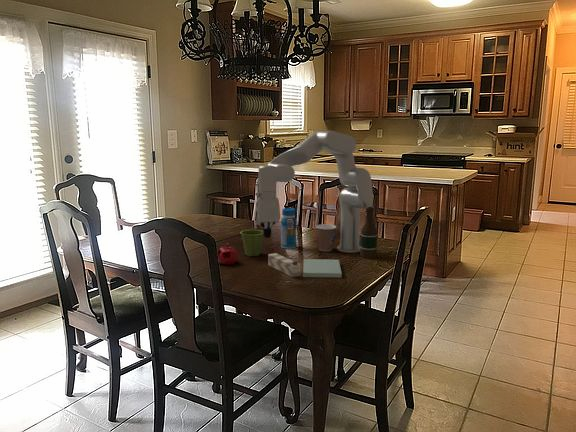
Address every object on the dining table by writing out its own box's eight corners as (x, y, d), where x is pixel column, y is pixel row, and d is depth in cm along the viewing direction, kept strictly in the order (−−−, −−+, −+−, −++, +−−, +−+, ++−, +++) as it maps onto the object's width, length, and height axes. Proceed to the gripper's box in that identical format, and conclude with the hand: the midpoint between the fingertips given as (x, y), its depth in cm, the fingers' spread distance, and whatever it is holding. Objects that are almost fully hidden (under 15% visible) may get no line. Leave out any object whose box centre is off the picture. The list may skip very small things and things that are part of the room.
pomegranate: (227, 258, 225) (227, 239, 223) (243, 262, 219) (242, 242, 217) (212, 263, 217) (211, 243, 216) (227, 267, 211) (226, 247, 209)
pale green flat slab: (303, 262, 218) (303, 259, 217) (338, 263, 217) (338, 259, 217) (303, 276, 198) (303, 272, 198) (341, 277, 197) (341, 273, 197)
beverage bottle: (277, 247, 244) (277, 209, 240) (285, 244, 251) (285, 207, 247) (292, 249, 240) (292, 211, 236) (299, 246, 247) (299, 208, 243)
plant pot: (268, 252, 235) (267, 230, 233) (260, 258, 224) (260, 235, 222) (245, 250, 239) (245, 228, 236) (236, 256, 227) (236, 234, 225)
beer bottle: (368, 259, 223) (370, 209, 218) (356, 256, 229) (358, 207, 224) (379, 257, 227) (381, 207, 223) (368, 253, 233) (369, 205, 229)
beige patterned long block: (300, 275, 199) (300, 261, 198) (292, 277, 197) (292, 263, 196) (275, 263, 216) (275, 251, 215) (268, 265, 214) (268, 252, 212)
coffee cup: (334, 252, 235) (335, 229, 232) (314, 251, 237) (314, 228, 234) (336, 247, 245) (337, 224, 242) (317, 246, 247) (317, 223, 244)
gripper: (254, 197, 192) (254, 241, 196) (287, 194, 199) (286, 237, 203) (247, 194, 199) (247, 237, 202) (279, 192, 206) (278, 233, 209)
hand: (267, 237), depth 202 cm, fingers closed
